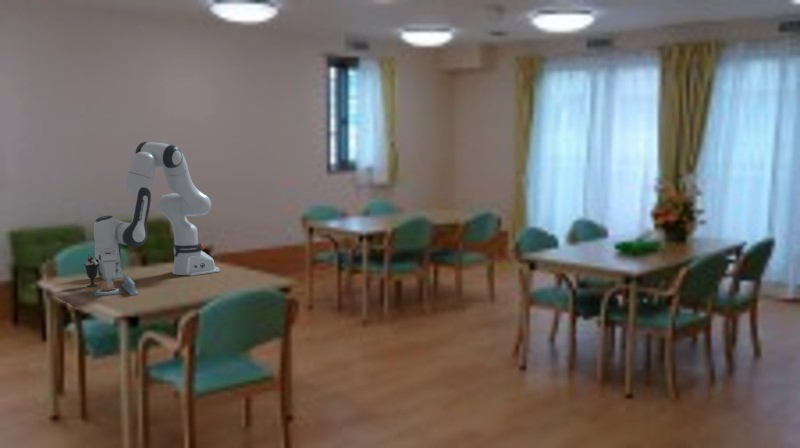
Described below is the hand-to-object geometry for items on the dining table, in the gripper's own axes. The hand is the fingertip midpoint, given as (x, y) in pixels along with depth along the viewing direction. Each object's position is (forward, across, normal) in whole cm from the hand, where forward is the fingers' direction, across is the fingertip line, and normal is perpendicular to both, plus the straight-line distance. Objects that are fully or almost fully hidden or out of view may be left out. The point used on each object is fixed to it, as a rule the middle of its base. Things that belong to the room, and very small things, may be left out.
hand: (107, 285), depth 330 cm
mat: (+3, 0, 0) cm, 3 cm away
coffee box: (+3, -34, +6) cm, 35 cm away
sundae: (+3, -17, -4) cm, 18 cm away
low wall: (+3, 0, +9) cm, 10 cm away
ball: (0, 0, 0) cm, 0 cm away
